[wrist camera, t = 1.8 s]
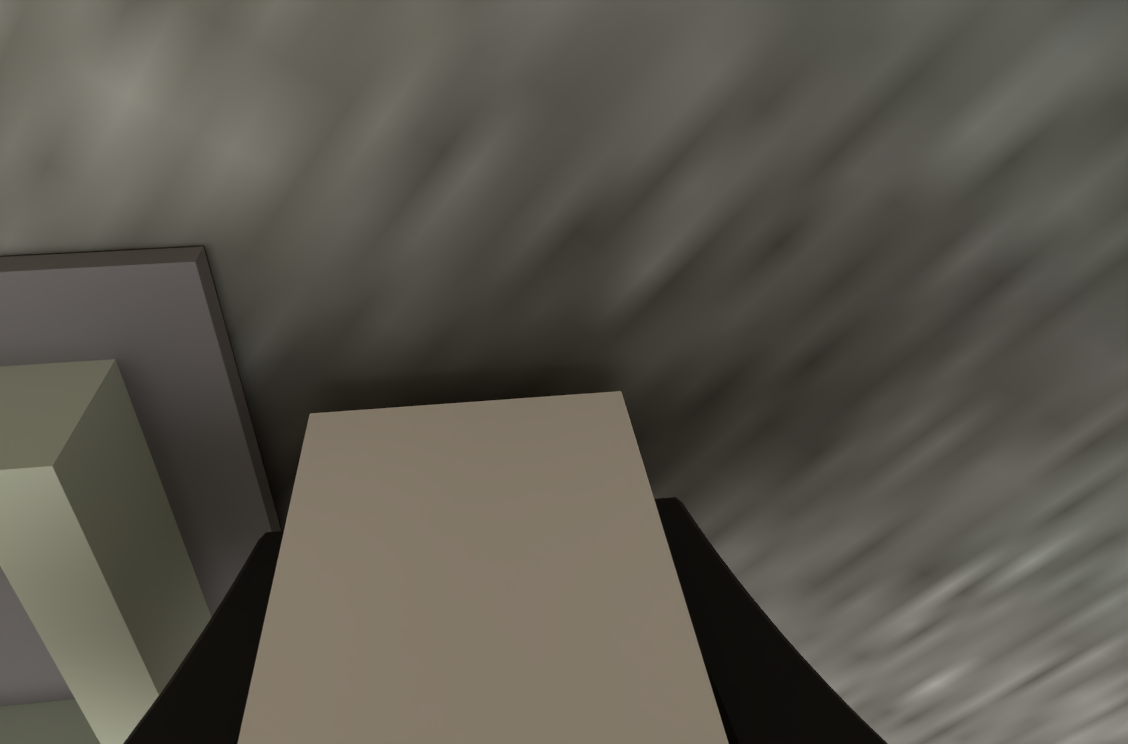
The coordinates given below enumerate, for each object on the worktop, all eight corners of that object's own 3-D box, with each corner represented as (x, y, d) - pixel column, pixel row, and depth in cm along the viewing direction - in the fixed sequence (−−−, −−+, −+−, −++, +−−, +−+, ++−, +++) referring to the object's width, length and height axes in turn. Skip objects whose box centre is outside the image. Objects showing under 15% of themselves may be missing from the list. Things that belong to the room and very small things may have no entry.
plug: (611, 357, 11) (737, 771, 7) (603, 557, 14) (692, 975, 9) (317, 377, 11) (218, 832, 6) (359, 580, 13) (311, 1029, 8)
